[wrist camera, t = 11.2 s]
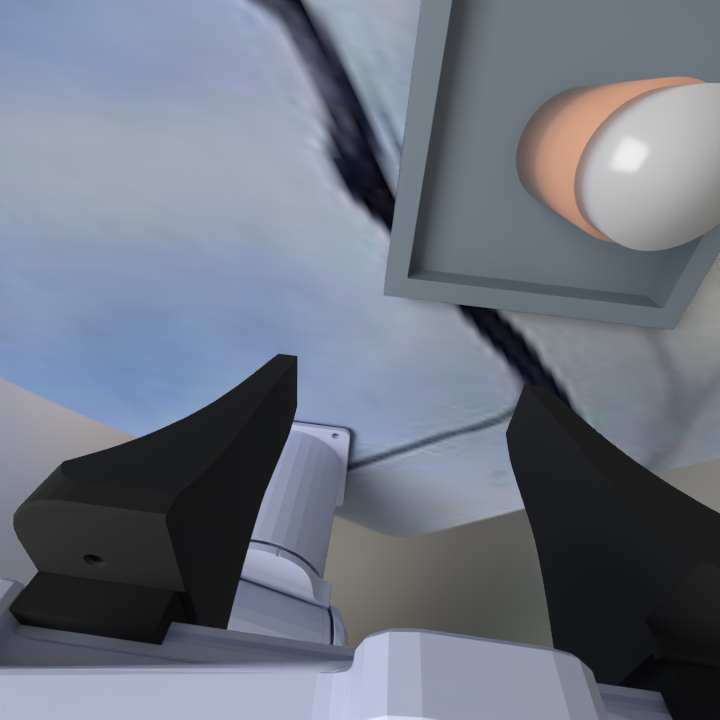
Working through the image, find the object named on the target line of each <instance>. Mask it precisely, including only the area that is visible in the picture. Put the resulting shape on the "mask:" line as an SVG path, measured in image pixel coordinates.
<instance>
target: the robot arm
mask: <svg viewBox="0 0 720 720" xmlns="http://www.w3.org/2000/svg"><path fill="white" fill-rule="evenodd" d="M296 408H297V356H292V355H284V354H278V355H276V356H275V357H274V358H272V359H271V360H270V361H269V362H267V363H266V364H265V365H264V366H262V367H261V368H260V369H259V370H257V371H256V372H255V373H254V374H252V375H251V376H250V377H248V378H247V379H246V380H245V381H243V382H242V383H241V384H239V385H238V386H237V387H235V388H234V389H232V390H231V391H229V392H228V393H226V394H225V395H223V396H222V397H220V398H219V399H218V400H216V401H214V402H213V403H211V404H209V405H208V406H206V407H204V408H202V409H201V410H199V411H197V412H195V413H193V414H191V415H190V416H188V417H186V418H184V419H182V420H179V421H177V422H175V423H173V424H171V425H168V426H166V427H164V428H162V429H160V430H157V431H155V432H153V433H150V434H148V435H145V436H143V437H140V438H138V439H135V440H132V441H129V442H126V443H124V444H121V445H118V446H115V447H112V448H109V449H106V450H102V451H99V452H95V453H92V454H88V455H85V456H82V457H78V458H75V459H71V460H67V461H64V462H63V463H62V464H61V465H60V466H58V467H57V469H56V470H55V471H54V472H53V473H52V474H51V475H50V476H49V477H48V478H47V479H46V480H45V481H44V482H43V483H42V484H41V485H40V486H39V487H38V488H37V489H36V490H35V491H34V492H33V493H32V494H31V495H30V496H29V497H28V499H27V500H25V502H24V503H23V504H22V505H21V506H20V507H19V508H18V510H17V511H16V512H15V514H14V519H13V520H14V521H13V526H14V530H15V532H16V534H17V537H18V539H19V540H20V542H21V544H22V545H23V547H24V548H25V550H26V552H27V553H28V555H29V557H30V558H31V560H32V561H33V563H34V565H35V566H36V568H37V569H38V573H37V574H36V575H35V576H34V578H33V579H32V580H31V581H30V583H29V584H28V585H27V586H25V585H24V584H22V583H20V582H18V581H16V580H12V579H8V578H2V577H0V720H720V513H718V512H716V511H714V510H712V509H710V508H709V507H707V506H705V505H703V504H701V503H700V502H698V501H696V500H695V499H693V498H691V497H690V496H688V495H686V494H685V493H683V492H681V491H680V490H678V489H676V488H675V487H673V486H671V485H670V484H668V483H667V482H665V481H664V480H662V479H660V478H659V477H658V476H656V475H655V474H653V473H652V472H650V471H649V470H647V469H646V468H644V467H643V466H641V465H640V464H638V463H637V462H636V461H634V460H633V459H632V458H630V457H629V456H627V455H626V454H625V453H624V452H622V451H621V450H620V449H618V448H617V447H616V446H615V445H613V444H612V443H611V442H609V441H608V440H607V439H606V438H604V437H603V436H602V435H601V434H600V433H598V432H597V431H596V430H595V429H594V428H592V427H591V426H590V425H589V424H588V423H587V422H585V421H584V420H583V419H582V418H581V417H580V416H578V415H577V414H576V413H575V412H574V411H573V410H572V409H570V408H569V407H568V406H567V405H566V404H565V403H564V402H562V401H561V400H560V399H559V398H558V397H557V396H555V395H554V394H553V393H552V392H551V391H549V390H548V389H547V388H545V387H541V386H533V385H524V388H523V390H522V393H521V396H520V398H519V401H518V403H517V406H516V409H515V411H514V414H513V416H512V419H511V421H510V424H509V427H508V429H507V432H506V437H507V444H508V450H509V456H510V461H511V465H512V468H513V471H514V475H515V478H516V481H517V484H518V487H519V490H520V493H521V497H522V500H523V503H524V506H525V509H526V512H527V515H528V518H529V521H530V524H531V527H532V531H533V535H534V539H535V543H536V548H537V552H538V557H539V562H540V567H541V572H542V577H543V583H544V589H545V594H546V599H547V605H548V612H549V619H550V626H551V632H552V639H553V646H554V649H553V648H550V647H545V646H538V645H531V644H524V643H517V642H510V641H503V640H496V639H489V638H482V637H475V636H468V635H461V634H454V633H447V632H440V631H433V630H426V629H419V628H390V629H386V630H383V631H380V632H376V633H373V634H370V635H369V636H368V637H367V638H366V639H365V640H364V641H363V642H362V643H361V644H360V645H359V647H358V648H350V647H348V636H347V630H346V627H345V625H344V620H343V617H342V614H341V612H340V610H339V609H338V608H336V607H334V606H330V605H329V603H330V597H331V589H332V584H331V583H329V582H326V581H324V580H323V575H324V570H325V564H326V558H327V552H328V546H329V540H330V534H331V528H332V522H333V516H334V510H335V507H340V506H342V505H343V501H344V492H345V482H346V473H347V463H348V454H349V444H350V432H349V430H347V429H344V428H337V427H330V426H322V425H314V424H306V423H299V422H293V420H294V416H295V412H296ZM334 433H336V434H338V435H334Z"/></svg>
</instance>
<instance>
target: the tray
mask: <svg viewBox="0 0 720 720" xmlns="http://www.w3.org/2000/svg"><path fill="white" fill-rule="evenodd" d="M676 76H677V77H690V78H695V79H699V80H701V81H704V82H706V83H720V0H422V1H421V9H420V17H419V24H418V32H417V40H416V47H415V55H414V63H413V70H412V78H411V86H410V93H409V101H408V109H407V116H406V124H405V132H404V139H403V147H402V155H401V162H400V170H399V178H398V185H397V193H396V201H395V208H394V216H393V224H392V231H391V239H390V247H389V254H388V262H387V270H386V277H385V287H384V295H385V296H393V297H402V298H410V299H418V300H427V301H435V302H444V303H452V304H460V305H469V306H477V307H485V308H494V309H502V310H510V311H519V312H527V313H535V314H544V315H552V316H561V317H569V318H577V319H586V320H594V321H602V322H611V323H619V324H627V325H636V326H644V327H653V328H661V329H669V330H674V329H675V327H676V325H677V324H678V322H679V320H680V319H681V317H682V315H683V314H684V312H685V310H686V308H687V307H688V305H689V303H690V302H691V300H692V298H693V296H694V295H695V293H696V291H697V290H698V288H699V286H700V284H701V283H702V281H703V279H704V278H705V276H706V274H707V272H708V271H709V269H710V267H711V266H712V264H713V262H714V260H715V259H716V257H717V255H718V254H719V252H720V223H719V224H718V225H716V226H715V227H714V228H712V229H711V230H709V231H708V232H706V233H705V234H703V235H701V236H700V237H698V238H696V239H694V240H692V241H690V242H687V243H685V244H682V245H680V246H676V247H673V248H669V249H664V250H657V251H640V250H635V249H631V248H628V247H625V246H623V245H621V244H619V243H614V242H608V241H604V240H601V239H598V238H596V237H594V236H592V235H590V234H589V233H587V232H585V231H584V230H582V229H581V228H579V227H578V226H576V225H575V224H573V223H572V222H570V221H569V220H567V219H566V218H564V217H563V216H561V215H560V214H558V213H556V212H555V211H553V210H552V209H550V208H549V207H547V206H546V205H544V204H543V203H541V202H540V201H538V200H537V199H535V198H534V197H532V196H531V195H530V194H529V193H528V192H527V191H526V190H525V189H524V187H523V186H522V184H521V182H520V180H519V177H518V173H517V168H516V154H517V148H518V143H519V140H520V137H521V135H522V132H523V130H524V128H525V126H526V125H527V123H528V121H529V120H530V119H531V117H532V116H533V115H534V113H535V112H536V111H537V110H538V109H539V108H540V107H541V106H542V105H543V104H544V103H545V102H546V101H548V100H549V99H551V98H552V97H553V96H555V95H557V94H559V93H561V92H563V91H565V90H568V89H571V88H575V87H581V86H590V85H600V84H609V83H619V82H628V81H638V80H648V79H657V78H667V77H676Z"/></svg>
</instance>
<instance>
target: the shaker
mask: <svg viewBox="0 0 720 720" xmlns="http://www.w3.org/2000/svg"><path fill="white" fill-rule="evenodd" d="M516 168H517V173H518V177H519V180H520V182H521V184H522V186H523V187H524V189H525V190H526V191H527V192H528V193H529V194H530V195H531V196H532V197H534V198H535V199H537V200H538V201H540V202H541V203H543V204H544V205H546V206H547V207H549V208H550V209H552V210H553V211H555V212H556V213H558V214H560V215H561V216H563V217H564V218H566V219H567V220H569V221H570V222H572V223H573V224H575V225H576V226H578V227H579V228H581V229H582V230H584V231H585V232H587V233H589V234H590V235H592V236H594V237H596V238H598V239H601V240H604V241H608V242H614V243H619V244H621V245H623V246H625V247H628V248H631V249H635V250H640V251H657V250H664V249H669V248H673V247H676V246H680V245H682V244H685V243H687V242H690V241H692V240H694V239H696V238H698V237H700V236H701V235H703V234H705V233H706V232H708V231H709V230H711V229H712V228H714V227H715V226H716V225H718V224H719V223H720V83H706V82H704V81H701V80H699V79H695V78H690V77H677V76H676V77H667V78H657V79H648V80H638V81H628V82H619V83H609V84H600V85H590V86H581V87H575V88H571V89H568V90H565V91H563V92H561V93H559V94H557V95H555V96H553V97H552V98H551V99H549V100H548V101H546V102H545V103H544V104H543V105H542V106H541V107H540V108H539V109H538V110H537V111H536V112H535V113H534V115H533V116H532V117H531V119H530V120H529V121H528V123H527V125H526V126H525V128H524V130H523V132H522V135H521V137H520V140H519V143H518V148H517V154H516Z"/></svg>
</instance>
